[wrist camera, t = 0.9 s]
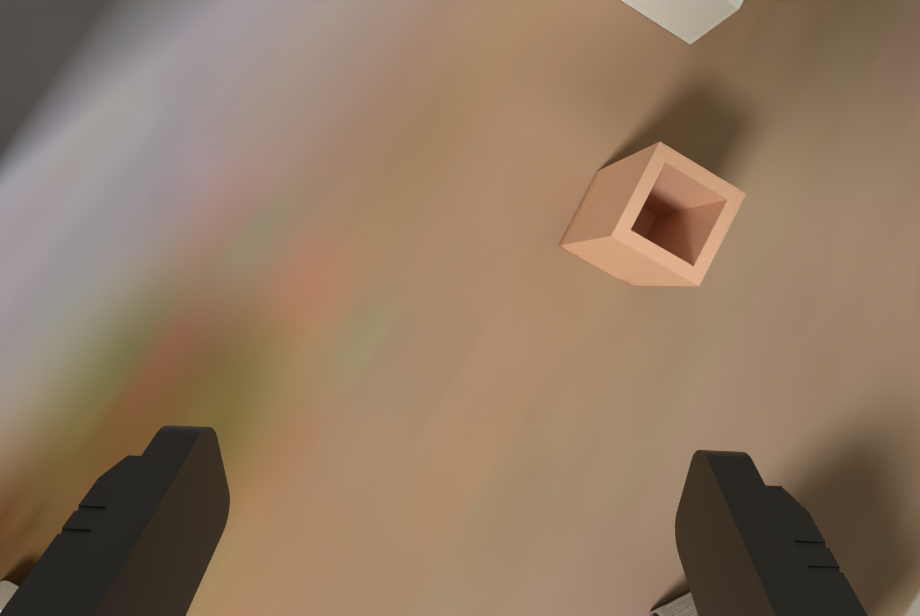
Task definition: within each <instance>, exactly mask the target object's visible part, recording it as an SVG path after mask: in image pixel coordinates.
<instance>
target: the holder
mask: <svg viewBox="0 0 920 616" xmlns="http://www.w3.org/2000/svg"><path fill="white" fill-rule="evenodd" d="M18 588H19V586H17V585H15V584H13V583H11V582H9V581H1V582H0V612H1V611H2V610H3V608H4V607H5V605H6V604H7V603H8V601H9V600H10V599H11V597H12V596H13V594H14V593H15V592H16V590H17V589H18Z"/></svg>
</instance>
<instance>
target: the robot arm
mask: <svg viewBox="0 0 920 616" xmlns="http://www.w3.org/2000/svg"><path fill="white" fill-rule="evenodd" d="M229 505H230V495H229V489H228V484H227V480H226V475H225V471H224V466H223V462H222V457H221V453H220V448H219V444H218V439H217V435H216V433H215V431H214V429H213V428H211V427H194V426H171V425H166V426H164V427H162V428H161V429H160V430H159V431H158V432H157V433H156V435H155V436H154V438H153V439H152V441H151V442H150V444H149V445H148V447H147V448H146V450H145V451H144V453H143V454H142V455H141V456H129V455H128V456H127V457H125V458H124V459H123V460H121V461H120V462H119V463H117V464H116V465H115V466H114V467H112V468H111V469H110V470H108V471H107V472H106V473H104V474H103V475H102V476H101V477H99V478H98V479H97V481H96V482H95V483H94V485H93V486H92V488H91V489H90V490H89V492H88V493H87V494H86V496H85V497H84V499H83V500H82V501H81V503H80V504H79V508H78V511H74V512H73V514H72V515H71V516H70V518H69V519H68V520H67V522H66V523H65V525H64V526H63V527H62V532H61V534H57V536H56V537H55V538H54V540H53V541H52V542H51V544H50V545H49V547H48V548H47V549H46V551H45V552H44V553H43V555H42V556H41V557H40V559H39V560H38V562H37V563H36V564H35V566H34V567H33V568H32V570H31V571H30V573H29V574H28V575H27V577H26V578H25V579H24V581H23V582H22V584H21V585H20V586H19V588H18V589H17V590H16V592H15V593H14V594H13V596H12V597H11V599H10V600H9V601H8V603H7V604H6V605H5V607H4V608H3V610H2V611H1V612H0V616H186V613H187V611H188V609H189V607H190V604H191V602H192V600H193V598H194V596H195V593H196V591H197V589H198V587H199V584H200V582H201V580H202V578H203V576H204V573H205V571H206V569H207V567H208V564H209V562H210V560H211V558H212V556H213V553H214V551H215V549H216V547H217V544H218V542H219V540H220V538H221V536H222V533H223V531H224V528H225V526H226V522H227V518H228V513H229ZM675 536H676V544H677V550H678V553H679V557H680V560H681V563H682V566H683V569H684V573H685V576H686V579H687V582H688V585H689V588H690V591H691V595H692V598H693V601H694V604H695V607H696V610H697V613H698V616H867V614H866V612H865V610H864V609H863V607H862V605H861V603H860V602H859V600H858V598H857V596H856V595H855V593H854V591H853V589H852V588H851V586H850V584H849V582H848V581H847V579H846V577H845V575H844V574H843V573H840V571H839V565H838V563H837V561H836V560H835V558H834V556H833V554H832V553H831V551H830V549H829V548H826V546H825V540H824V539H823V537H822V535H821V533H820V532H819V530H818V528H817V526H816V525H815V523H814V521H813V519H812V518H811V516H810V514H809V512H808V511H807V510H806V509H805V508H803V507H802V506H801V505H800V504H799V503H798V502H797V501H796V500H795V499H794V498H793V497H792V496H791V495H790V494H789V493H788V492H786V491H785V490H784V489H783V488H782V487H781V486H765V484H764V482H763V480H762V478H761V476H760V474H759V472H758V470H757V468H756V467H755V465H754V463H753V461H752V459H751V457H750V456H749V455H748V454H747V453H745V452H731V451H708V450H698V451H696V452H695V453H694V455H693V458H692V460H691V464H690V468H689V471H688V475H687V478H686V482H685V485H684V489H683V492H682V496H681V499H680V503H679V506H678V510H677V514H676V521H675Z"/></svg>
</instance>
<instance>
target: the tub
mask: <svg viewBox="0 0 920 616" xmlns="http://www.w3.org/2000/svg"><path fill="white" fill-rule="evenodd" d="M745 195H746V194H745V193H744V192H742V191H741V190H739V189H737V188H736V187H734V186H732V185H731V184H729V183H727V182H726V181H724V180H722V179H721V178H719V177H718V176H716V175H714V174H713V173H711V172H709V171H708V170H706V169H704V168H703V167H701V166H699V165H698V164H696V163H695V162H693V161H691V160H690V159H688V158H686V157H685V156H683V155H681V154H680V153H678V152H676V151H675V150H673V149H672V148H670V147H668V146H667V145H665V144H663V143H662V142H658V143H656V144H653V145H651V146H649V147H647V148H645V149H643V150H641V151H639V152H637V153H635V154H632V155H630V156H628V157H626V158H624V159H622V160H620V161H618V162H616V163H613V164H611V165H609V166H607V167H605V168H603V169H601V170H599V171H597V172H596V174H595V176H594V178H593V180H592V182H591V184H590V186H589V188H588V190H587V192H586V194H585V196H584V198H583V199H582V201H581V203H580V205H579V207H578V209H577V211H576V213H575V215H574V217H573V219H572V221H571V223H570V225H569V226H568V228H567V230H566V232H565V234H564V236H563V238H562V240H561V242H560V244H559V246H560V247H562V248H564V249H565V250H567V251H569V252H571V253H573V254H574V255H576V256H578V257H580V258H581V259H583V260H585V261H587V262H589V263H590V264H592V265H594V266H596V267H597V268H599V269H601V270H603V271H605V272H606V273H608V274H610V275H612V276H614V277H615V278H617V279H619V280H621V281H622V282H624V283H626V284H628V285H647V286H699V285H700V283H701V282H702V280H703V278H704V276H705V274H706V272H707V270H708V268H709V266H710V264H711V262H712V260H713V258H714V256H715V254H716V252H717V250H718V248H719V246H720V244H721V242H722V240H723V238H724V236H725V234H726V232H727V230H728V228H729V226H730V225H731V223H732V221H733V219H734V217H735V215H736V213H737V211H738V209H739V207H740V205H741V203H742V201H743V199H744V197H745Z"/></svg>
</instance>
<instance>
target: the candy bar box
mask: <svg viewBox="0 0 920 616" xmlns="http://www.w3.org/2000/svg"><path fill="white" fill-rule="evenodd" d="M650 616H698V613H697V610H696V607H695V604H694V601H693V598H692V595H691V591H690V590H689V591H688V592H686V593H684V594H683V595H681V596H679V597H677V598H675V599H673V600H671V601H669V602H668V603H666V604H664V605H662V606H660V607H658V608H657V609H655V610H653V611H651V612H650Z"/></svg>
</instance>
